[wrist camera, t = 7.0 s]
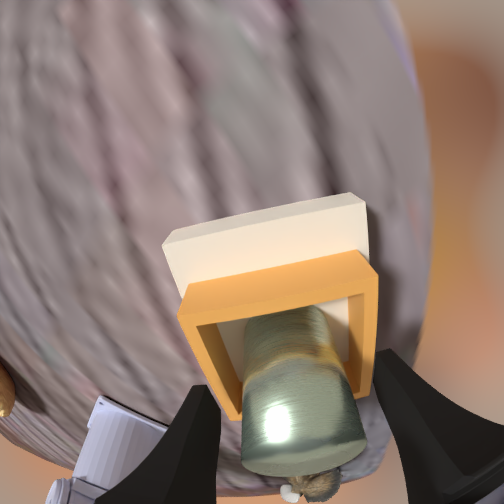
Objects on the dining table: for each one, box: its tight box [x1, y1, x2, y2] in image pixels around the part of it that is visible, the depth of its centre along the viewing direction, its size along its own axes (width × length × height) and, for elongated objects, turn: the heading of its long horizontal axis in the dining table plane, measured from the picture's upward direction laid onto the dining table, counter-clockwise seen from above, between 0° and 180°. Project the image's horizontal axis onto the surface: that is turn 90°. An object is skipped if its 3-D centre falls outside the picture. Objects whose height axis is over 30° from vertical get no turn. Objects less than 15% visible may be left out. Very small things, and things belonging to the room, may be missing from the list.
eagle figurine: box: [280, 469, 343, 503], centre depth 22 cm, size 8×7×9 cm
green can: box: [241, 305, 367, 477], centre depth 10 cm, size 4×4×7 cm
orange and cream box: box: [162, 192, 378, 421], centre depth 13 cm, size 12×9×4 cm
